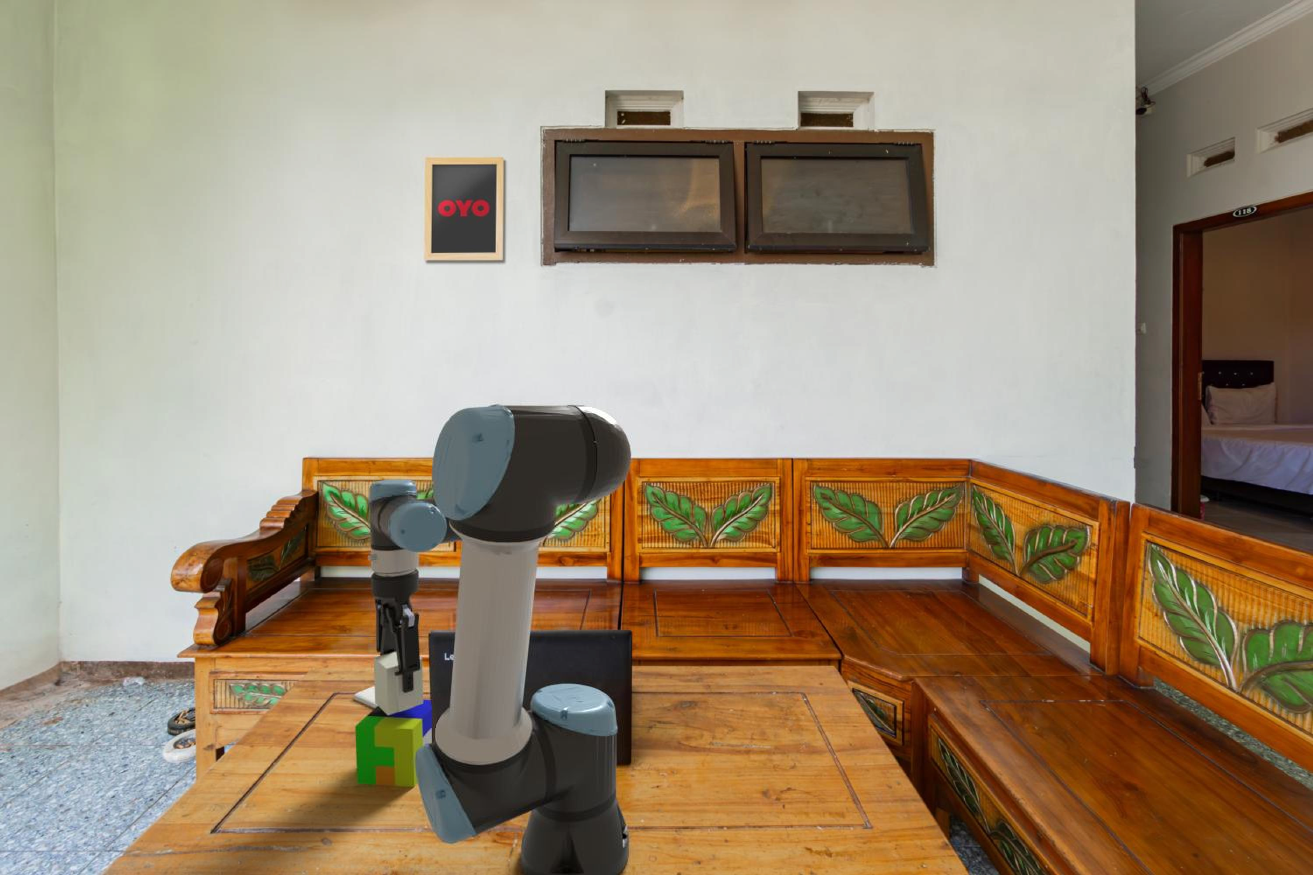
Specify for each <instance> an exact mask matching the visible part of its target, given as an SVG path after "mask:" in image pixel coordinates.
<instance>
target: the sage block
mask: <svg viewBox="0 0 1313 875" xmlns="http://www.w3.org/2000/svg"><path fill="white" fill-rule="evenodd" d="M398 671H399V668H398V661H397V653H396V652H393V653H389V654H386V655H382V656H380V655H379V656H375V657H373V672H374V674H373V676H374V686H375V703H376V704H377V705H378V706H379V707H380V708H381V709H382V710H383V711H384V712H385V713H386V714H387V715H391V714H394V713H396V712H399V711H397V676H395V672H398ZM423 675H424V674H423V658H422V657H421V656H420V670H419V671H415V672H414V683H415V706H417V705H420V704H423V699H424V683H423V681H424V680H423Z"/></svg>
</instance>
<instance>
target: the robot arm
mask: <svg viewBox="0 0 1313 875" xmlns="http://www.w3.org/2000/svg"><path fill="white" fill-rule="evenodd" d="M631 451H632V450H631V445H630V442H629V439H628V436H627V434H626V432H625V431H624V429H623V428H622V426H621V425H620V424H619V423H618V421H616V420H615V419H614V418H613V417H612V416H611V415H609V414H608V413H606V412H604V411H602V410H601V409H597V408H596V407H591V406H587V405H579V404H566V405H510V404H509V405H508V404H507V405H506V404H505V405H502V404H498V403H497V404H491V405H489V406H488V405H487V406H474V407H466V408H462V409H460V410H458V411H456V412H455V413H453V414H452V415H451V416H450V418H449V419H448V420H447V421H446V422H445V423H444V425H443V427H442V428H441V430H440V433H439V435H438V437H437V441H436V444H435V447H434V453H433V458H432V466H431V467H432V468H431V480H432V482H433V487H432V494H433V497H429V498H418V497H419V495H418V489H417V485H416V482H415V481H413V480H411V479H403V478H402V479H399V478H398V479H386V480H385V479H384V480H378V481H374V482H373V483H372V484H371V485H370V486H369V489H368V490H369V493H368V502H367V505H368V510H369V511H368V513H369V534H370V535H369V537H370V540H369V541H370V555H368V556H367V560H368V561H369V562H370V564H371V565H370V567H371V568H370V569H371V571H372V572H373V573H372V574H371V577H370V579H371V581H370V582H371V595H372V596H373V597H375V599H374V604H375V617H376V618H375V620H376V621H375V627H376V628H375V631H376V632H375V633H376V634H375V639H376V640H375V641H376V643H375V645H376V647H375V650H376V653H379V656H382V655H386V654H389V653H393V652H396V653H397V661H398V668H399V671H398V672H395V676H397V711H399V712H401V711H404V710H407V709H410V708H413V707H415V683H414V672H415V671H419V670H420V657H421V656H420V655H421V654H420V634H419V624H420V623H419V621H420V613H419V612H413V606H412V603H411V599H410V598H411V596H412V595H415V594H416V593H417V592H418V590H420V574H419V570H418V567H419V566H420V561H419V560H420V558H419V557H420V555H419V554H420V553H426V552H429V551H431V550H433V549H435V548H436V547H437V546H439V545H441V544H447V543H448V544H449V543H456V542H457V543H458V542H461V549H460V551H461V552H460V566H459V579H458V580H459V581H458V591H457V605H456V618H455V619H456V620H455V631H454V633H455V634H454V646H453V647H454V648H453V660H452V672H451V673H452V674H451V687H450V702H449V707H448V708H447V709H446V710H445V711H444V712H443V713H442V714H440V718H439V720H438V722H437V724H436V728H435V740H434V742H433V743H430V744H429V743H426V744H425V745H424V746H422V747H420V748H419V749H418V750H417V752H416V755H415V768H416V775H417V781H418V783H417V785H418V789H419V794H420V797H421V800H422V804H423V807H424V811H425V813H426V816H427V819H428V821H429V823H430V826H431V828H432V830H433V832H434V834H435V835H436V837H437V838H438V839H439V840H440V841H441V842H443V843H445V844H449V845H453V844H456V843H460V842H462V841H466V840H468V839H471V838H476V837H479V835H481V834H483V833H485V832H488V831H489V830H492V829H494V828H496V827H499V826H501V825H503V824H504V823H508V822H509V821H512V820H513V819H516V818H518V817H520V816H523V815H525V814H527V813H529V812H530V814H529V818H528V821H527V825H526V827H525V831H524V833H523V835H522V839H521V845H520V863H521V870H522V871H523V874H524V875H619V874H620V873H622V871H623V870H624V868H625V866H626V865H627V863H628V861H629V857H630V836H629V835H630V834H629V829H628V826H627V823H626V819H625V818H624V815H623V812H622V809H621V806H620V804H619V800H618V798H617V797H618V796H617V733H618V730H619V729H618V724H617V716H616V707H615V704H614V701H613V700H612V698H610V696H609V695H608V694H606V693H605V692H603V691H601V690H599V689H597V688H595V687H592V686H588V685H583V684H578V683H577V684H576V683H559V684H558V683H557V684H551V685H546V686H544V687H541V688H540V689H538V690H537V691H536V692H535V693H534V694H533V695H532V697H531V700H530V704H529V705H530V710H526V709H525V708H524V707H523V702H524V694H525V683H526V676H527V675H526V674H527V663H528V655H529V647H530V646H529V645H530V636H531V626H532V617H533V615H532V614H533V607H534V599H535V589H536V580H537V571H538V569H537V568H538V560H539V551H540V550H539V549H540V543H541V542H542V541H544V540H545V539H547V538H548V537H550V536H551V535H552V534H553V532H554V530H555V526H556V518H557V510H558V509H559V508H561V507H565V506H570V505H582V504H588V503H592V502H594V501H598V500H600V499H603V498H605V497H607V496H609V495H611V494H613V493H614V492H615V491H617V490H618V489H619V488H620V487H621V486H622V484H623V483H624V482H625V480H626V478H627V476H628V474H629V471H630V467H631V464H632V452H631Z"/></svg>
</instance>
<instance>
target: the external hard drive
mask: <svg viewBox="0 0 1313 875" xmlns="http://www.w3.org/2000/svg"><path fill="white" fill-rule="evenodd" d="M353 700H354V701H357V702H359V703H362V704H364V705H367V706H368V707H370V708H373V709H375V708H376V707H377V706H378V705H377V704H376V703H375V685H373V686H371V687H367V688H366V689H363V690H360V691H359V692H356V693H355V694H353Z"/></svg>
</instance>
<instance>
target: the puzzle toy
mask: <svg viewBox="0 0 1313 875" xmlns="http://www.w3.org/2000/svg"><path fill="white" fill-rule="evenodd" d="M431 700H432V699H424V698H423V704H420V705H417V706H415V707H413V708H410V709H407V710H404V711H401V712H396V713H394V714H391V715H387V714H386V713H385V712H384V711H383V710H382V709H381V708H380V707H379V706H377V707H376V708H373V709H372V710H371V711H370V712H369V713H368V714H367V715H366V716H365V717H364V718H362V720H360V721H359V722H358V723H357V724H356V725H355V726H354V728H355V755H356V756H355V757H356V783H357V784H361V785H373V786H374V785H376V786H391V787H394V786H395V787H407V788H408V787H409V788H415V787H416V785H418V781H417V775H416V768H415V755H416V752H417V750H418V749H419V748H420V747H422V746H424V745H425V744H426V743H429V744H430V743H432V706H431Z"/></svg>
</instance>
